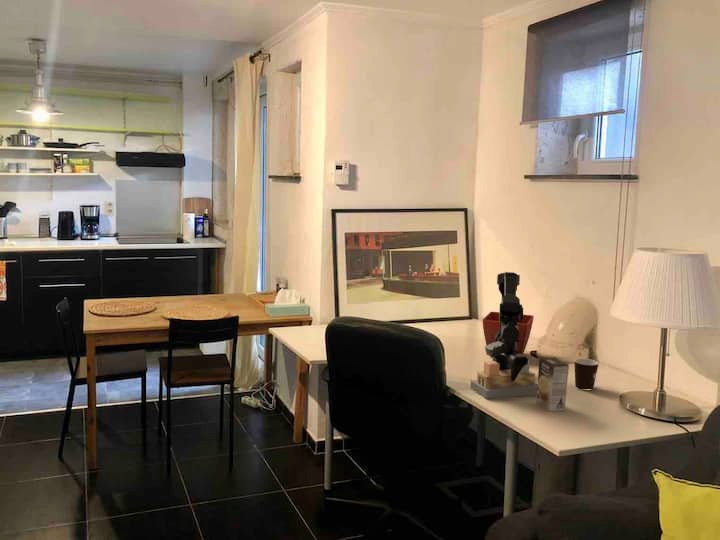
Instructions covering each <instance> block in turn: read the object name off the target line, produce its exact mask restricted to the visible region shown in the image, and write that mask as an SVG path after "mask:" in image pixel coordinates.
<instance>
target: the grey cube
mask: <svg viewBox="0 0 720 540" xmlns="http://www.w3.org/2000/svg"><path fill="white" fill-rule="evenodd" d="M530 363H531V362H530V361H529V360H528V364H526V366H524V367H523V368H522V370H521V371H520V373H529V370H530Z"/></svg>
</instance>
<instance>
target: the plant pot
mask: <svg viewBox="0 0 720 540" xmlns="http://www.w3.org/2000/svg"><path fill="white" fill-rule="evenodd" d="M519 319H520V314H519ZM481 320H482V321H481V322H482V329H483V334H484V335H483V336H484V341H485V344H486V345H485V346H487V345H489V344H491V343H493V340H495V335H496V334H497V332H498V331H499V330H500V321H499V311H490V312H489V313H488V314H487V315H485V317H483V318H482V319H481ZM517 323H518V330H519V338H518V339H519V342H517V344H516V349H517V350H518V353H515V354H523V355H524V354H525V351H526V347H527V345H528V343H529V340H530V339H529V338H530V335H531V332H532V327H533V323H534V315H531V314H523V320H522V322H517Z"/></svg>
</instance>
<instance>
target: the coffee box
mask: <svg viewBox="0 0 720 540" xmlns="http://www.w3.org/2000/svg"><path fill="white" fill-rule="evenodd" d="M538 360H539V361H538V374H537V384H538V385H537V395H536V397H535V399H536V401H535V402H536V403H537V404H538V405H539V406H540V407H542V408H544V409H545V410H546V411H548V412H557V411H565V410H566V404H567V403H566V401H567V390H568V389H567V388H568V379H569V378H568V377H569V367H570V365H569V364H568V363H567V362H565V361H562V360H561V359H559V358H557V357H556V356H553V357H540V358H539V359H538Z"/></svg>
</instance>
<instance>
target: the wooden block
mask: <svg viewBox="0 0 720 540" xmlns="http://www.w3.org/2000/svg"><path fill="white" fill-rule="evenodd" d="M476 375H477V376H476V380H477V383H478V384H479V383H480V385H481V386H484V387H485V388H492V387H504V386H516V385H529V384H535V383H536V373H535V372H533V371H531V370H530V369H529V373H519V374H518V376H517V378H516V379H515V381H511V369H510V370H499V375H492V376H489V375H487V374H485V373H484V370H483V371H477V373H476Z"/></svg>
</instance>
